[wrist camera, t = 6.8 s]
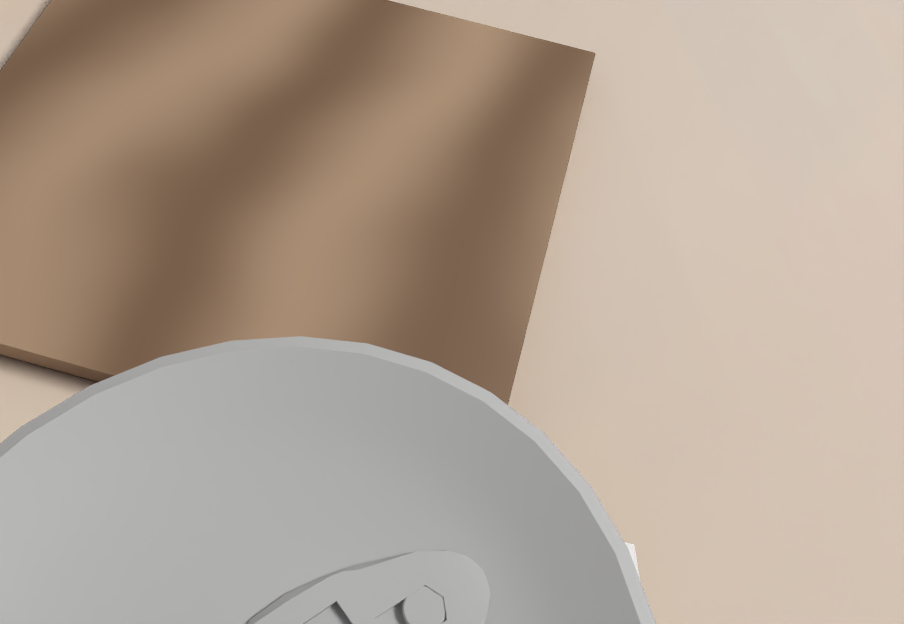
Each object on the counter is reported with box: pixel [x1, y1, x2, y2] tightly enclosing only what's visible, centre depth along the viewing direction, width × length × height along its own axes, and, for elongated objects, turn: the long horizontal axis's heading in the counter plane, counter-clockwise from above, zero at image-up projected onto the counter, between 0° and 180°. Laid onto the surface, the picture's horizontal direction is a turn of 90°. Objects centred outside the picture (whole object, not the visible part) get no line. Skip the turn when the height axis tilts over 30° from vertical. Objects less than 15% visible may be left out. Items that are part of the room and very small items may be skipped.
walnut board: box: [0, 0, 595, 405], centre depth 23 cm, size 16×14×1 cm
